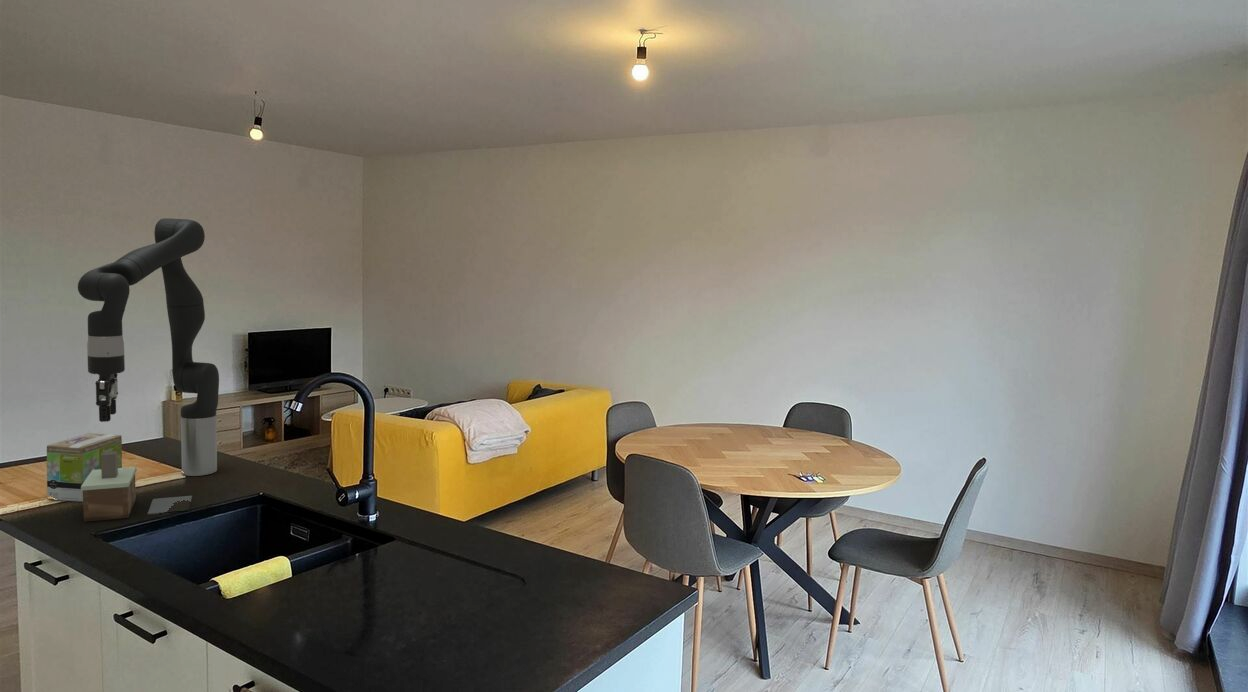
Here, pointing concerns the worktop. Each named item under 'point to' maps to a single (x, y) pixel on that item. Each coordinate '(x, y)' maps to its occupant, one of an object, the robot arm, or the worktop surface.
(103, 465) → the lid
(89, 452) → the tea box
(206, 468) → the robot arm
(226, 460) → the worktop surface
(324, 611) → the worktop surface
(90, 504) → the crate
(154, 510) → the mat
